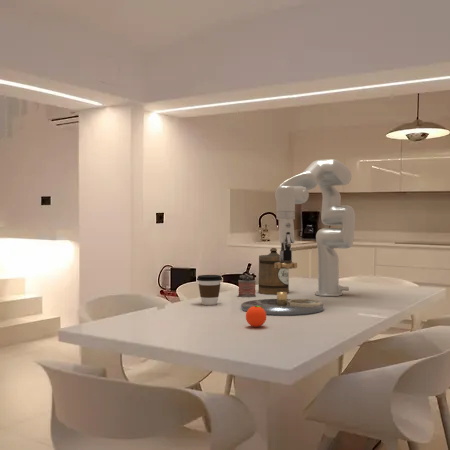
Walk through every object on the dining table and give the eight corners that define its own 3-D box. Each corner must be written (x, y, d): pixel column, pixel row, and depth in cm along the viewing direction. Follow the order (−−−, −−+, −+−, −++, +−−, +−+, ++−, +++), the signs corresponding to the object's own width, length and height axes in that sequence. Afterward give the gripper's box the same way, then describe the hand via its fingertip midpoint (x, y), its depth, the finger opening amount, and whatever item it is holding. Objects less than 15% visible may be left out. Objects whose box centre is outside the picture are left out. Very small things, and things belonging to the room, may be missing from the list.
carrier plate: (311, 301, 238) (311, 286, 238) (334, 314, 205) (334, 297, 205) (236, 303, 234) (236, 288, 234) (247, 316, 201) (247, 299, 201)
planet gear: (294, 266, 230) (294, 250, 230) (299, 268, 221) (299, 251, 221) (273, 266, 230) (272, 250, 230) (276, 268, 220) (276, 251, 220)
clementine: (255, 323, 188) (255, 302, 188) (272, 325, 184) (272, 304, 184) (241, 327, 182) (241, 305, 182) (258, 329, 178) (258, 307, 178)
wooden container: (288, 294, 259) (288, 248, 259) (257, 294, 262) (256, 248, 261) (289, 290, 274) (289, 247, 274) (260, 290, 276) (259, 247, 276)
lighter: (255, 296, 256) (255, 274, 256) (255, 297, 252) (255, 275, 252) (238, 296, 256) (238, 274, 256) (238, 297, 253) (237, 275, 253)
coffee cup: (219, 306, 226) (219, 277, 226) (193, 305, 228) (193, 277, 228) (224, 302, 237) (224, 274, 237) (200, 301, 239) (200, 274, 239)
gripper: (299, 215, 217) (299, 261, 217) (290, 215, 234) (290, 258, 234) (280, 215, 216) (280, 261, 217) (273, 216, 233) (273, 258, 234)
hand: (286, 259), depth 225 cm, fingers closed on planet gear, 5 cm apart
